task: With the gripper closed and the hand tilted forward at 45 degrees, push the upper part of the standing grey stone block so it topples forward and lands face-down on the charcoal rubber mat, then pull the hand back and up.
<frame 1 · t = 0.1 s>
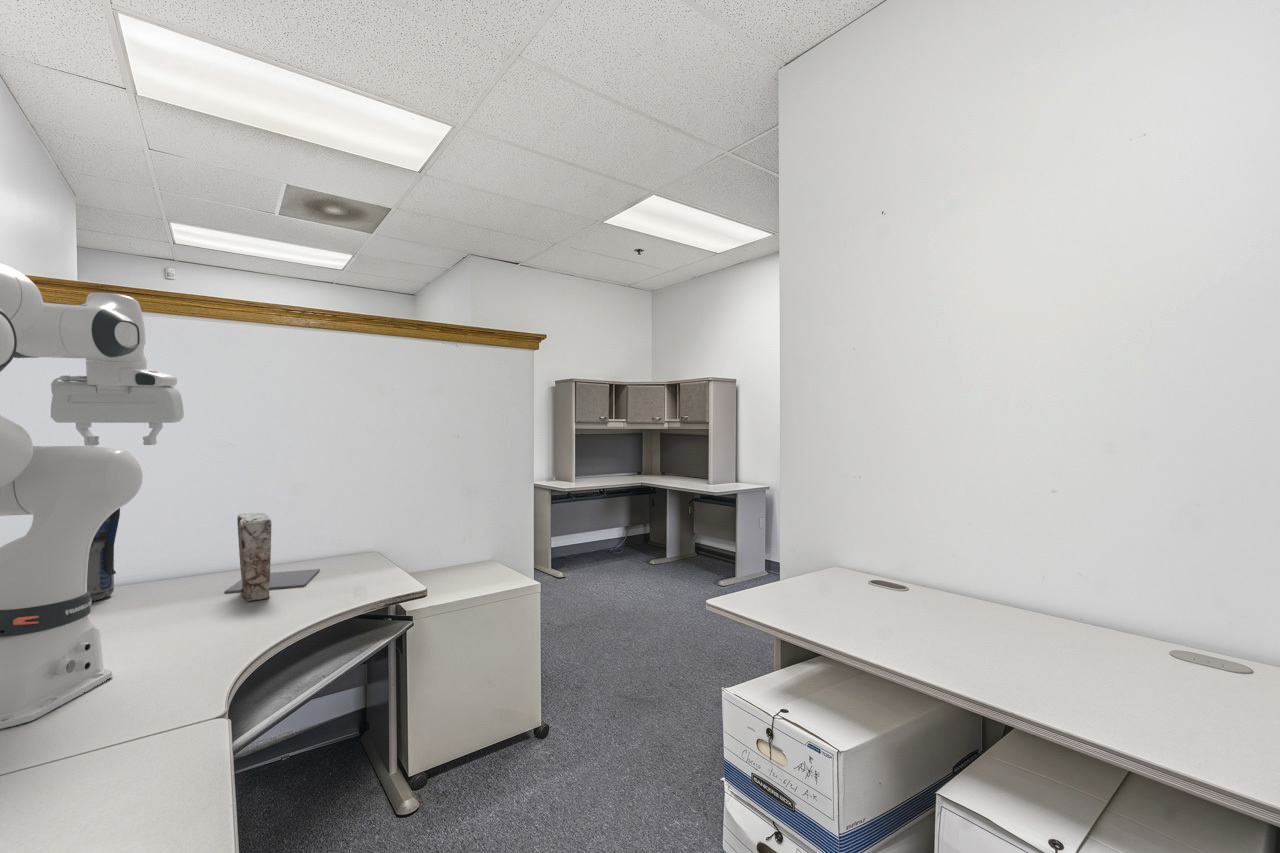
hand: (121, 445, 111), 39 cm above the table, tool pointing down, fingers open, 8 cm apart
stone block: (255, 594, 139), on the table, touching mat
grey blue tall cylinder: (89, 600, 136), on the table
mat: (275, 581, 152), on the table
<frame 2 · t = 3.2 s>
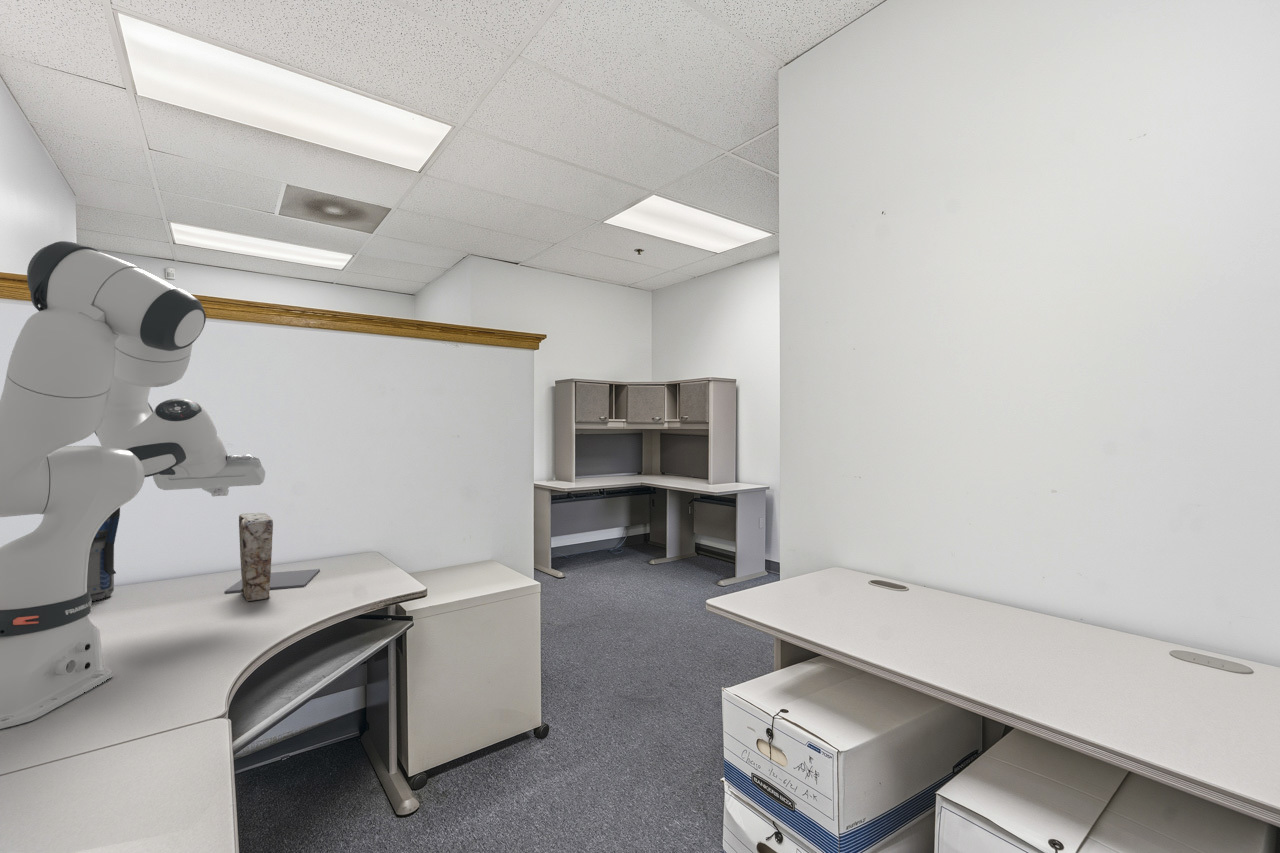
hand: (221, 493, 131), 27 cm above the table, tool tilted 50°, fingers closed
nothing on the table moved.
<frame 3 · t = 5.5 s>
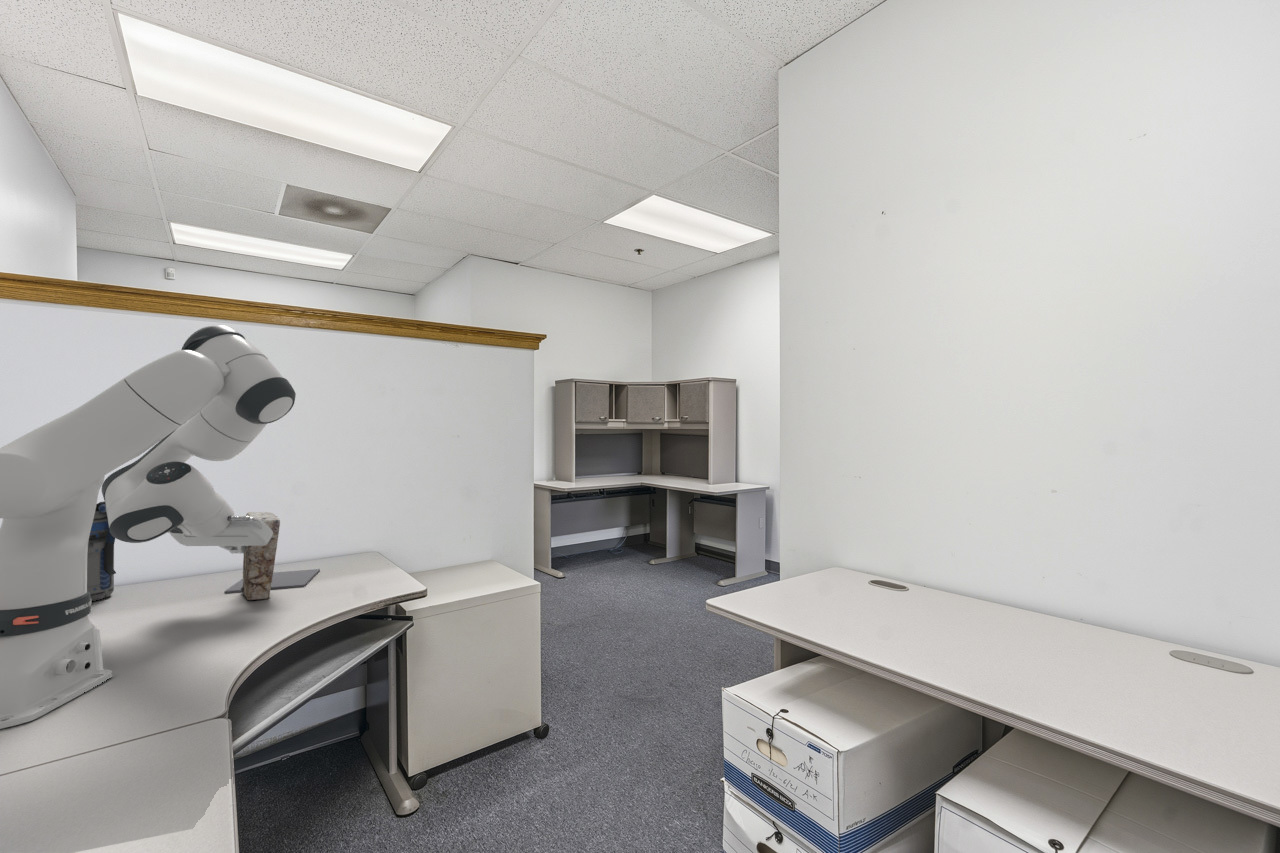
hand: (239, 551, 133), 12 cm above the table, tool tilted 45°, fingers closed
stone block: (255, 594, 139), on the table, touching gripper, mat
everything else where it was.
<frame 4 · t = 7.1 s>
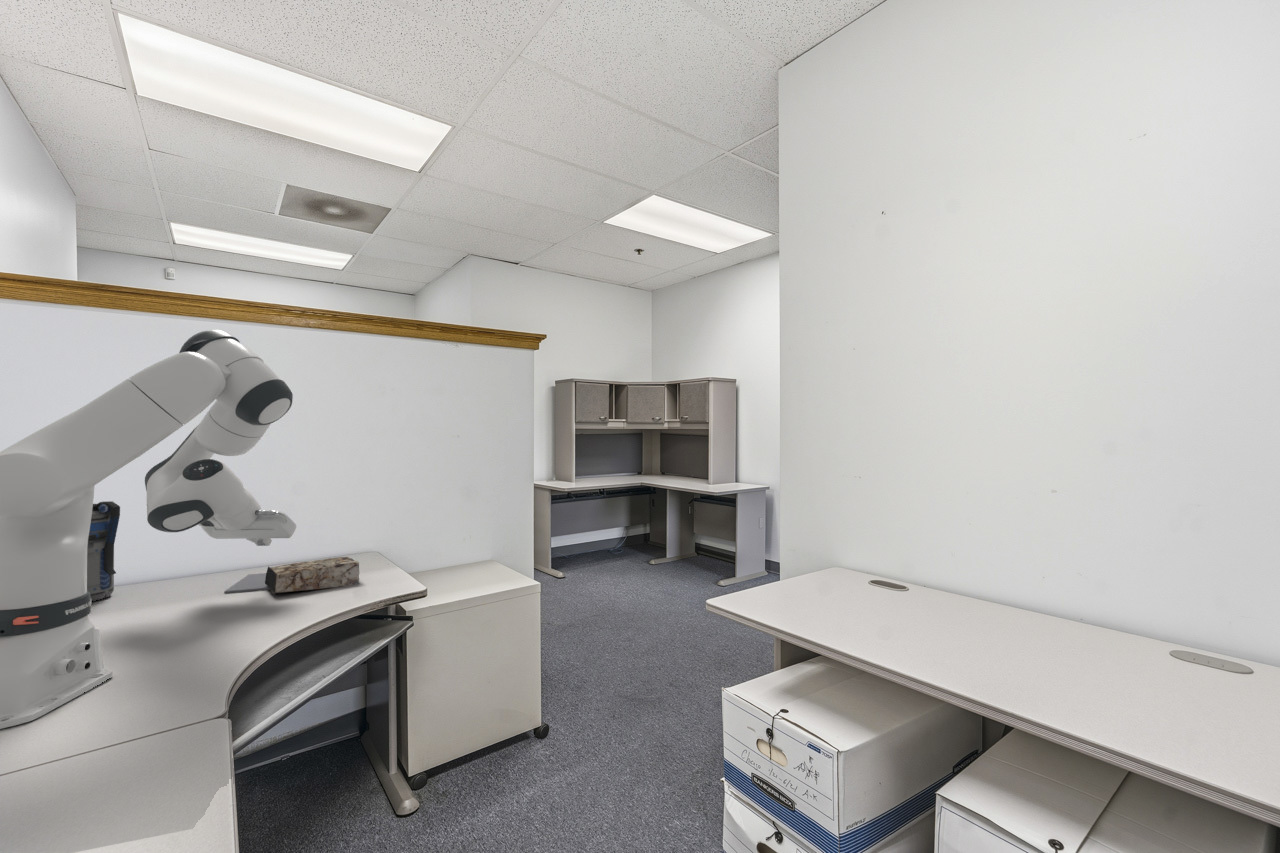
hand: (264, 543, 142), 12 cm above the table, tool tilted 45°, fingers closed
stone block: (268, 579, 141), point 3 cm above the table, touching mat
everything else where it was.
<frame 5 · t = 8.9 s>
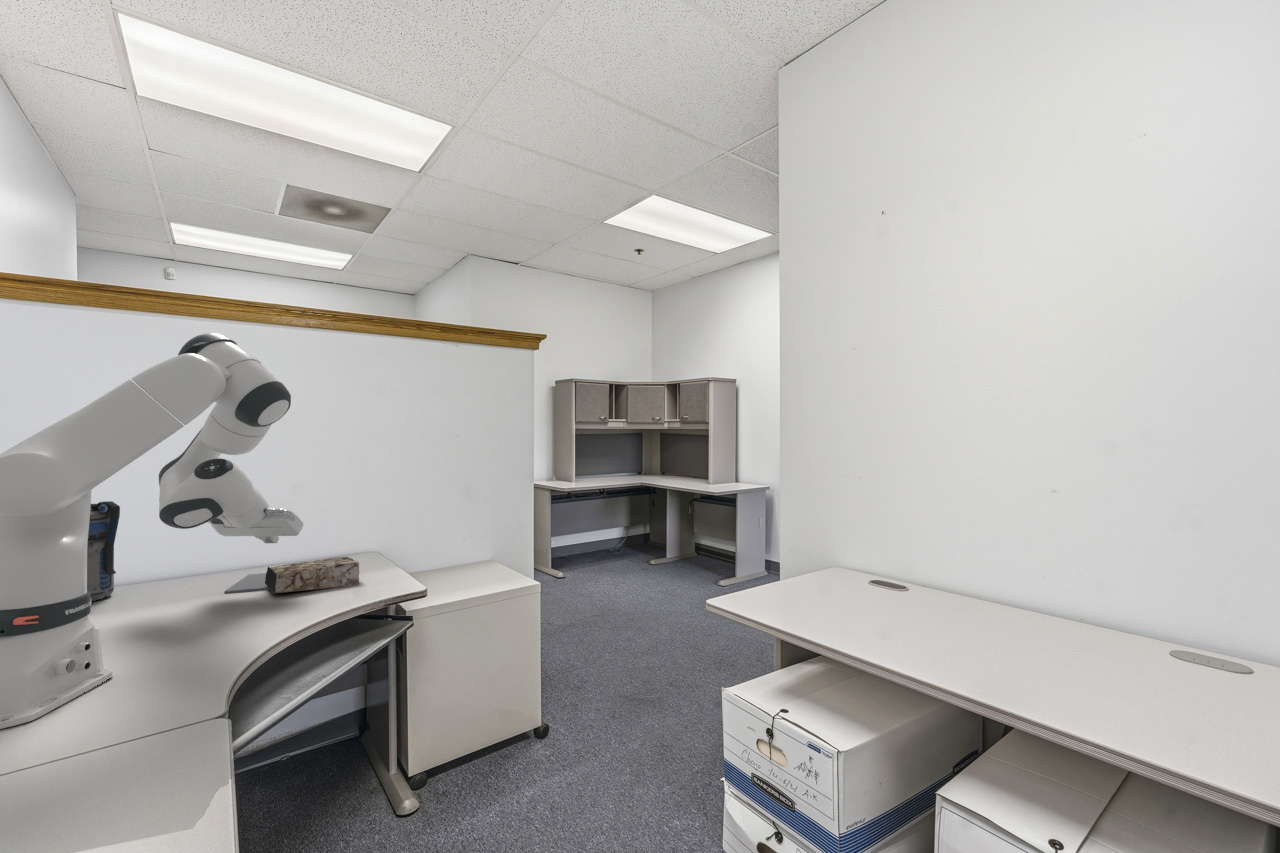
hand: (272, 541, 146), 12 cm above the table, tool tilted 45°, fingers closed
nothing on the table moved.
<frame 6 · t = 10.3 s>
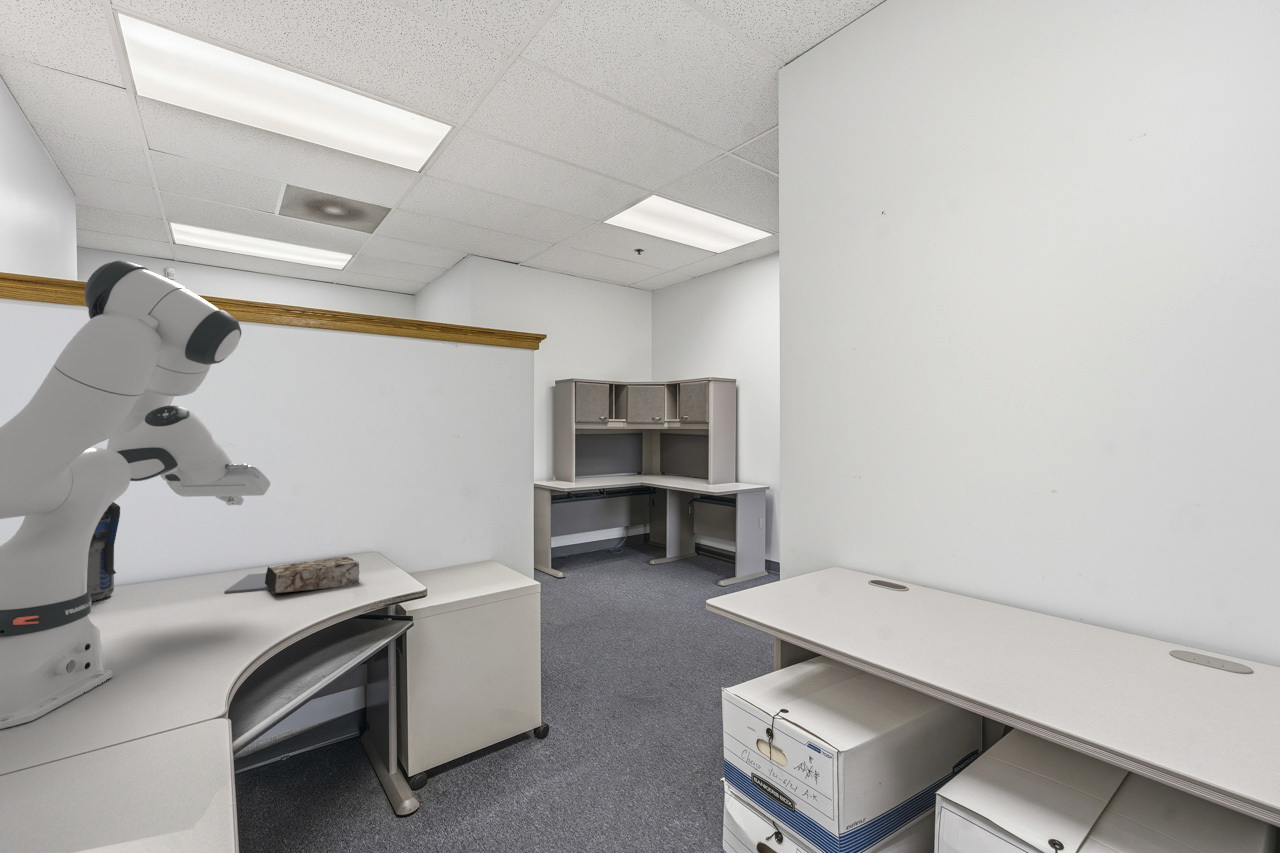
hand: (236, 503, 134), 24 cm above the table, tool tilted 45°, fingers closed
nothing on the table moved.
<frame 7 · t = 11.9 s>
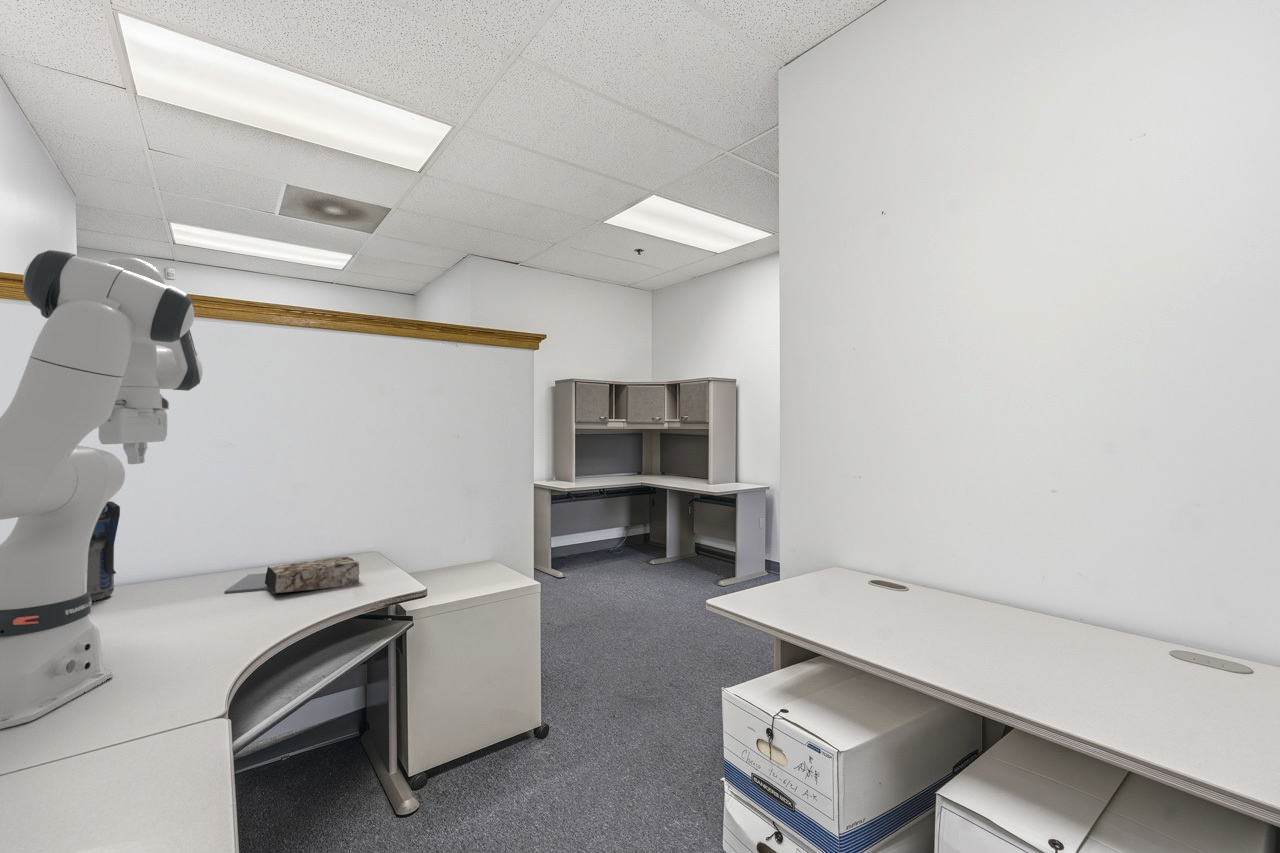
hand: (136, 463, 120), 34 cm above the table, tool pointing down, fingers closed
nothing on the table moved.
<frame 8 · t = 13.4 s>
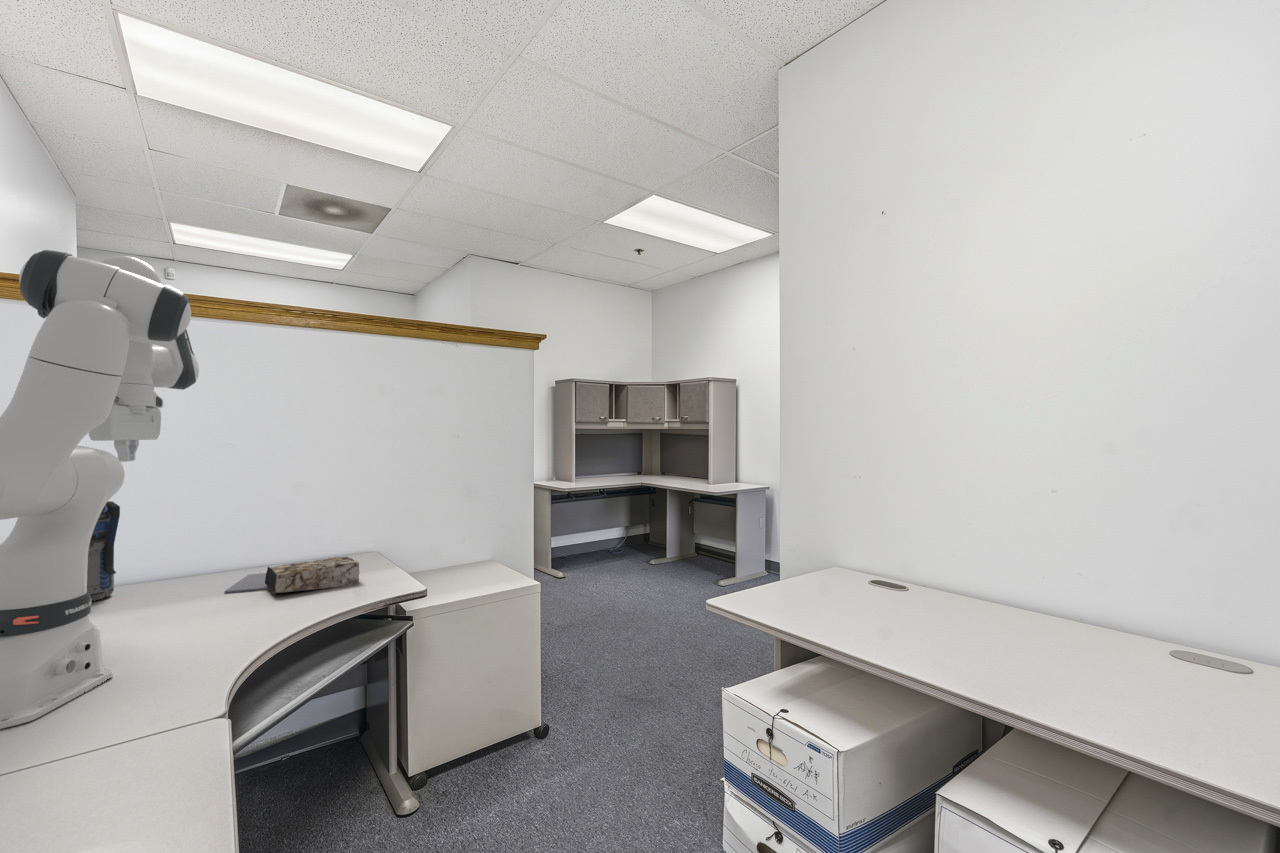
hand: (126, 461, 120), 35 cm above the table, tool pointing down, fingers closed
nothing on the table moved.
at the end: stone block tilted 92°; stone block inside the target area (11.2 cm from its centre), point 3.4 cm above the table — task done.
